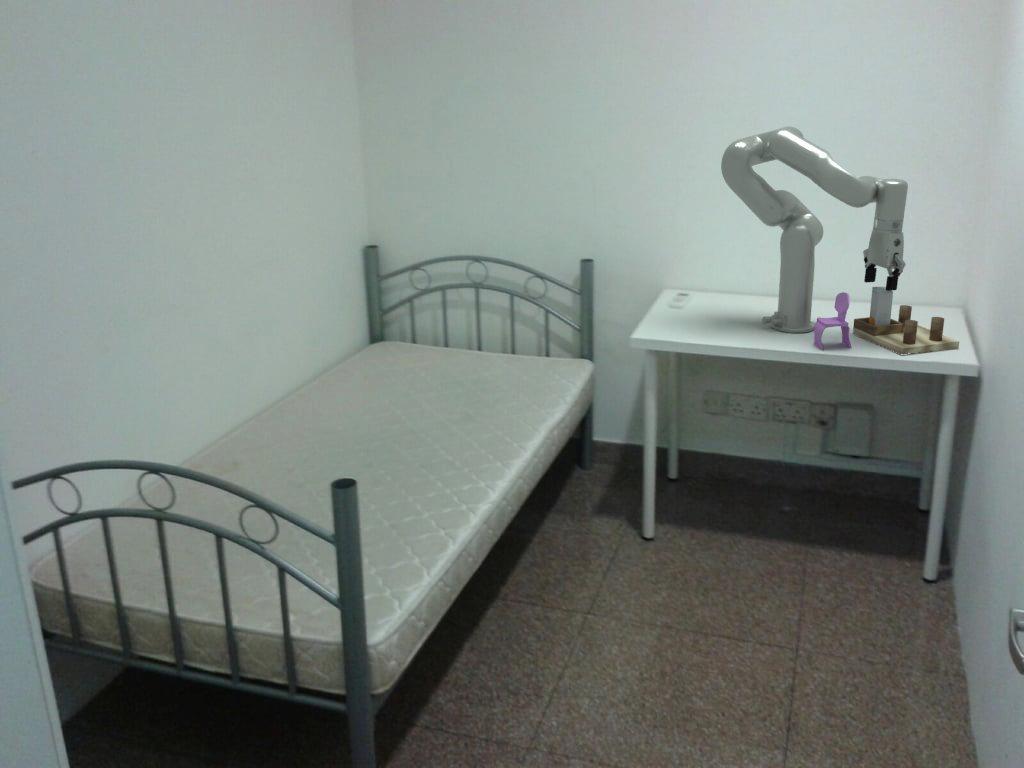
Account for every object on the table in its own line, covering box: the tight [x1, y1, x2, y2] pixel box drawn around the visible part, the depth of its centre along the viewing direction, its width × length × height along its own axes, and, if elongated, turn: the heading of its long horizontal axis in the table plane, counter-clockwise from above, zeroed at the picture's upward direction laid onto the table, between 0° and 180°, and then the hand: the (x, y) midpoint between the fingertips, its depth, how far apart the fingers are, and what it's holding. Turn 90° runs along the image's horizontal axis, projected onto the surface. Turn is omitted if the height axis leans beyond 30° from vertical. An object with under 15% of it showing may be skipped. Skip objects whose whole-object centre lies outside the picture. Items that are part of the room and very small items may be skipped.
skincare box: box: [869, 286, 894, 326], centre depth 274 cm, size 6×4×12 cm
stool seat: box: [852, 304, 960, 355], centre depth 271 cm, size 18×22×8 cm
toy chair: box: [813, 291, 853, 351], centre depth 268 cm, size 8×9×15 cm
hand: (880, 286), depth 273 cm, fingers open, 9 cm apart
